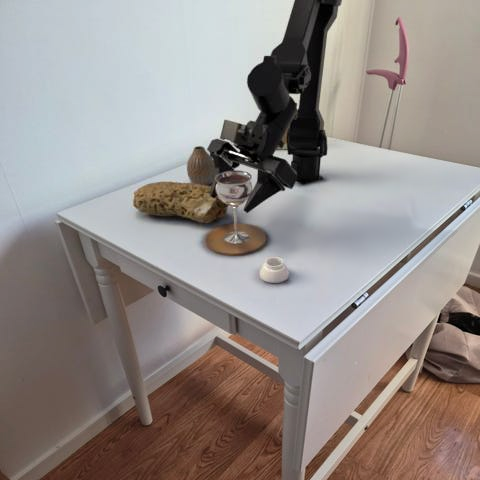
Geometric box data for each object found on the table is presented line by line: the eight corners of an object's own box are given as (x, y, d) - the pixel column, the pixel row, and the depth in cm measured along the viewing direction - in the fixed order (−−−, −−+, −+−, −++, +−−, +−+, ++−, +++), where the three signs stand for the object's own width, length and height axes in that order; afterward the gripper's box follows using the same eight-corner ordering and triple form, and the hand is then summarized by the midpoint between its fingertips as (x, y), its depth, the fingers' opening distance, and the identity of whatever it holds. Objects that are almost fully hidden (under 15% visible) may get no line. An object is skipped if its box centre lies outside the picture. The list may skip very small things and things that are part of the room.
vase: (217, 178, 109) (215, 142, 103) (214, 188, 103) (211, 152, 98) (191, 178, 109) (187, 143, 104) (186, 189, 104) (181, 152, 98)
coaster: (247, 220, 90) (247, 218, 89) (277, 244, 81) (277, 242, 81) (195, 235, 86) (195, 233, 85) (222, 262, 77) (222, 259, 77)
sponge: (233, 216, 94) (166, 182, 100) (234, 187, 88) (161, 152, 94) (196, 250, 88) (126, 211, 94) (193, 222, 81) (119, 182, 88)
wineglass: (213, 234, 84) (208, 175, 77) (243, 225, 87) (241, 167, 79) (228, 249, 80) (224, 187, 72) (259, 239, 82) (259, 179, 74)
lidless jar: (273, 265, 76) (253, 277, 73) (273, 251, 74) (253, 262, 71) (294, 275, 73) (275, 288, 70) (295, 261, 71) (275, 273, 68)
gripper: (210, 91, 75) (168, 170, 77) (288, 107, 64) (238, 198, 66) (244, 127, 84) (206, 197, 86) (317, 147, 73) (272, 227, 75)
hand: (228, 204), depth 78 cm, fingers open, 9 cm apart
